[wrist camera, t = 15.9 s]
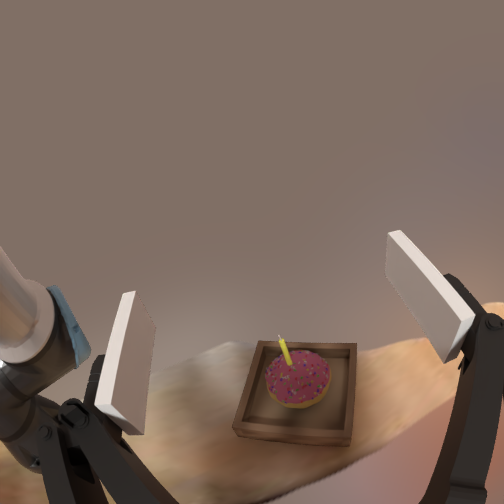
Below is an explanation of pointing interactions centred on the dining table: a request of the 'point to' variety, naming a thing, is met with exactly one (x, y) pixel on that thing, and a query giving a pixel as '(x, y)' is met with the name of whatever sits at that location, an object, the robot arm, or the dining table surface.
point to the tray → (295, 419)
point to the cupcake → (297, 378)
